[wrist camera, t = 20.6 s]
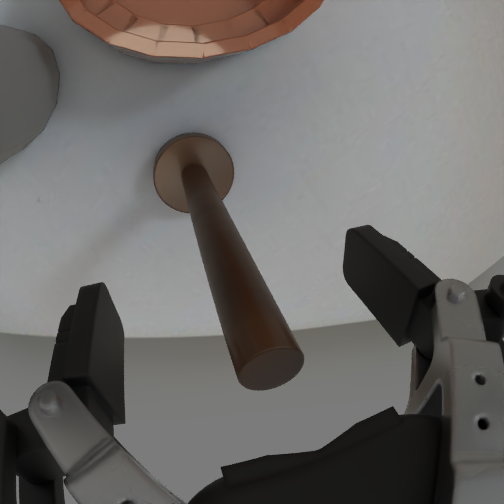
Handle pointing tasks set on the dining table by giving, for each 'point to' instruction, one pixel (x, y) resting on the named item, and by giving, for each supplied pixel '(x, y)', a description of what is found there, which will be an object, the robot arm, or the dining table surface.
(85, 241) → the dining table surface
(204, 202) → the upright rod on disc
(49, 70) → the cup
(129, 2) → the bowl
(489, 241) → the dining table surface
